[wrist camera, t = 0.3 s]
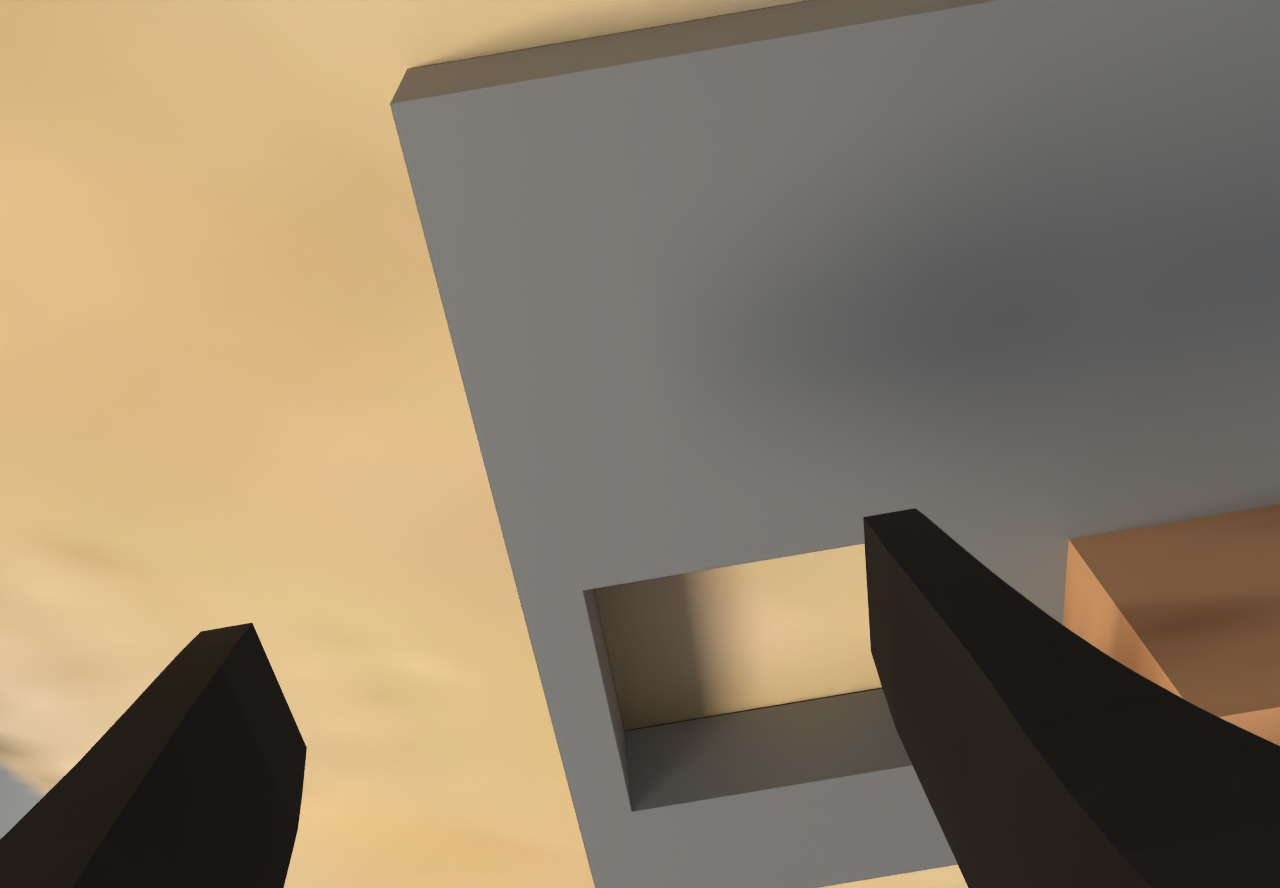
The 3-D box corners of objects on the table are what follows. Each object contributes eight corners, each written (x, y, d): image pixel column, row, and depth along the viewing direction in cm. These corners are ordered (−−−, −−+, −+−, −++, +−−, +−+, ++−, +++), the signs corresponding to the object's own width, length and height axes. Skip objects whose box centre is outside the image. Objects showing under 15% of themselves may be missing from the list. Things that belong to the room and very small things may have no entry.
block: (1276, 681, 24) (1435, 870, 20) (1056, 718, 24) (1166, 914, 20) (1315, 497, 22) (1507, 669, 17) (1068, 539, 22) (1198, 720, 17)
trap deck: (1720, 653, 29) (1881, 769, 25) (599, 839, 29) (607, 979, 25) (2151, -228, 18) (2520, -236, 15) (407, 69, 19) (377, 129, 15)
